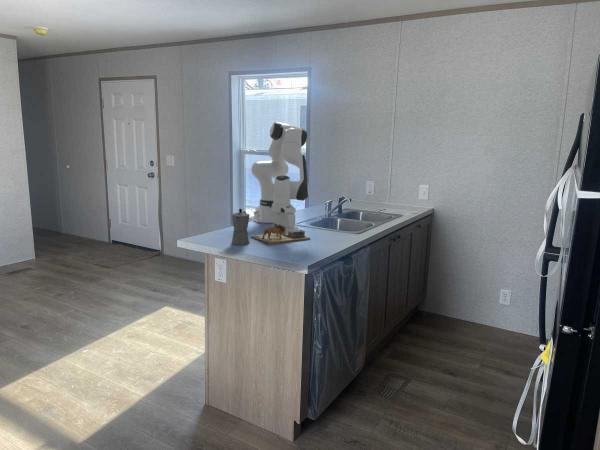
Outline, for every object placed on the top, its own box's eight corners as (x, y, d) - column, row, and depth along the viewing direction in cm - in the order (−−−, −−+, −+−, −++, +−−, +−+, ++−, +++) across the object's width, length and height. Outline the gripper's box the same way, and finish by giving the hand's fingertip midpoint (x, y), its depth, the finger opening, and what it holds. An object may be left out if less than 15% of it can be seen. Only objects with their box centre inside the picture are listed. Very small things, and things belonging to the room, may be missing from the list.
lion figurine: (282, 234, 240) (283, 218, 236) (287, 237, 236) (289, 222, 232) (259, 238, 231) (260, 222, 228) (264, 242, 227) (265, 226, 224)
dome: (285, 234, 245) (286, 224, 243) (295, 233, 248) (295, 223, 247) (292, 237, 239) (292, 226, 238) (301, 235, 243) (302, 225, 242)
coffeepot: (245, 246, 221) (245, 211, 217) (227, 245, 222) (227, 210, 219) (253, 239, 236) (253, 206, 232) (236, 238, 237) (236, 205, 234)
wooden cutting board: (251, 237, 241) (251, 230, 240) (290, 232, 255) (290, 225, 254) (269, 245, 225) (269, 237, 225) (310, 239, 240) (310, 232, 239)
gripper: (266, 204, 235) (266, 230, 238) (287, 210, 219) (286, 238, 222) (276, 204, 239) (275, 229, 242) (297, 210, 223) (297, 236, 225)
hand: (281, 233), depth 232 cm, fingers open, 8 cm apart
